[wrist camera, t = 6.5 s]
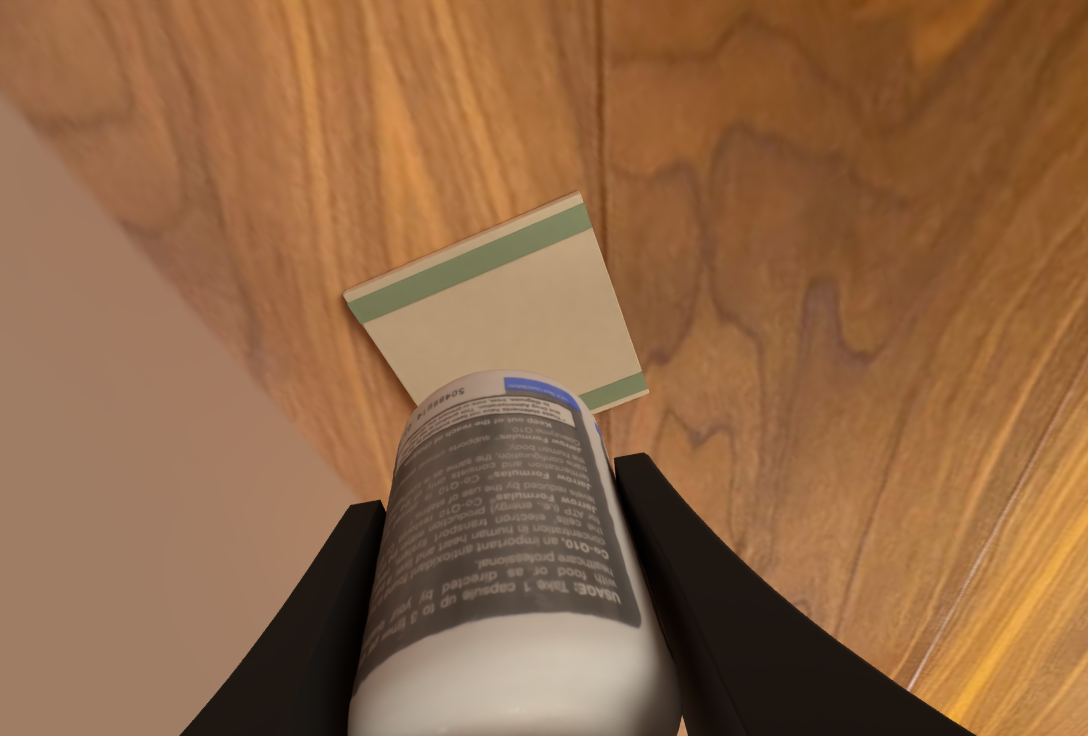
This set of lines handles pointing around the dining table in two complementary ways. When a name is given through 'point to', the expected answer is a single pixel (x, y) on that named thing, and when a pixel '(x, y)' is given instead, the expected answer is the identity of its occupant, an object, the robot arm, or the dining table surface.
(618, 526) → the pill bottle
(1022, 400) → the dining table surface
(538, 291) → the striped square coaster
